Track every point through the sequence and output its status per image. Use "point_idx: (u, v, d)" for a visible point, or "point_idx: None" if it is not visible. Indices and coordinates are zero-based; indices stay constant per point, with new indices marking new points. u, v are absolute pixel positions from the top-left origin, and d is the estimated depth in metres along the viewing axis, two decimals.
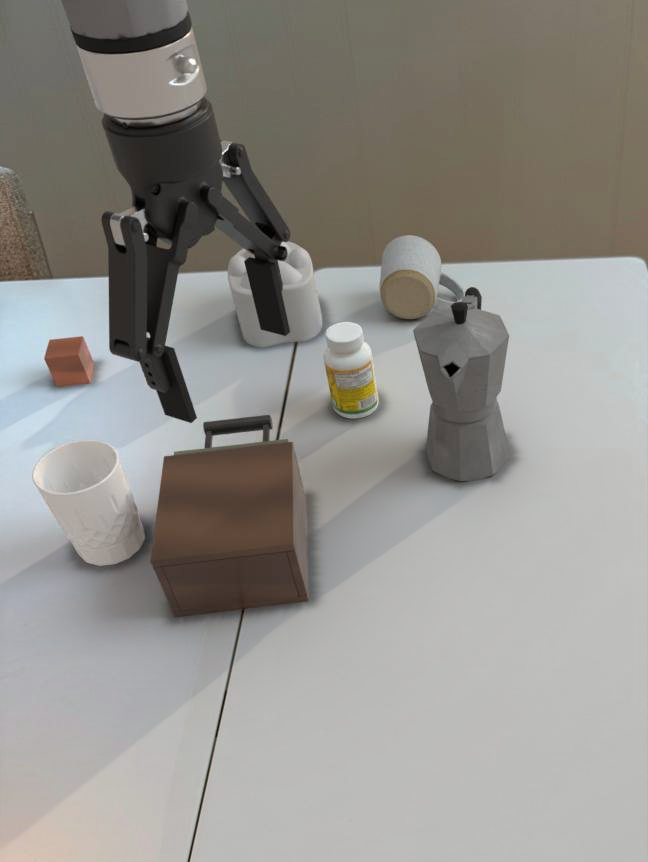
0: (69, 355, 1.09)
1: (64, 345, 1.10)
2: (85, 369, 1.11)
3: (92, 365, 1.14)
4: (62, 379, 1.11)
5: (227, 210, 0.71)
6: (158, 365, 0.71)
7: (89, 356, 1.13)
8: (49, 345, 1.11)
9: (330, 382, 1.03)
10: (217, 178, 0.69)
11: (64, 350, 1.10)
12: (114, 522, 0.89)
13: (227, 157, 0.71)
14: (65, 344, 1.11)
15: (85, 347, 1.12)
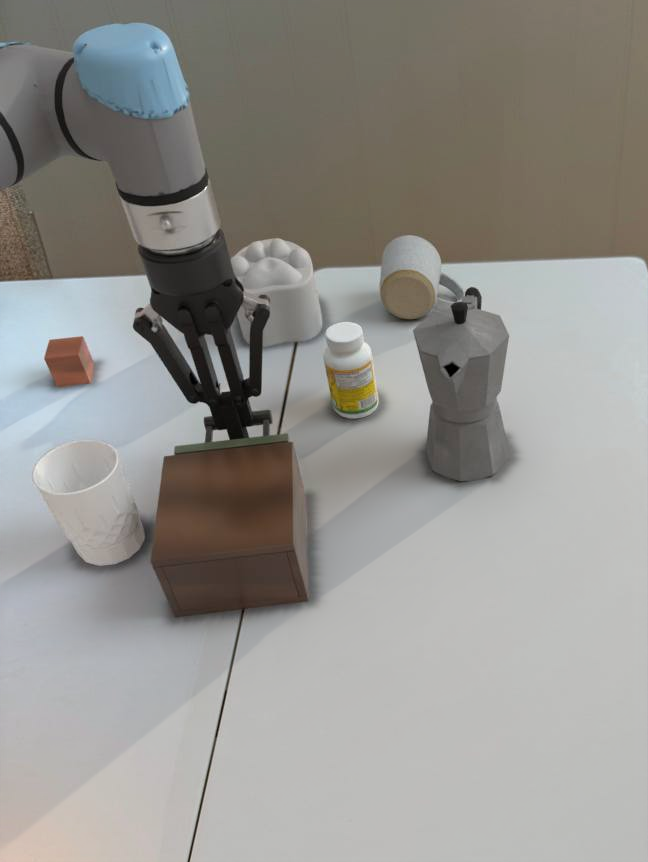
0: (69, 355, 1.09)
1: (64, 345, 1.10)
2: (85, 369, 1.11)
3: (92, 365, 1.14)
4: (62, 379, 1.11)
5: (217, 332, 0.87)
6: (215, 411, 0.94)
7: (89, 356, 1.13)
8: (49, 345, 1.11)
9: (330, 382, 1.03)
10: (231, 301, 0.85)
11: (64, 350, 1.10)
12: (114, 522, 0.89)
13: (255, 306, 0.87)
14: (65, 344, 1.11)
15: (85, 347, 1.12)
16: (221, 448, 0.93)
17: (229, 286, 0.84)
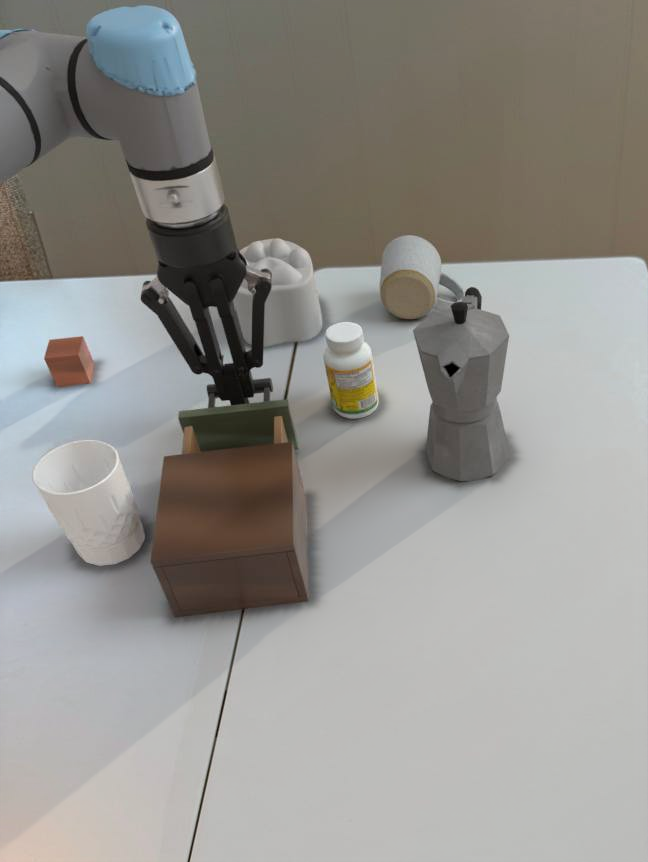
0: (69, 355, 1.09)
1: (64, 345, 1.10)
2: (85, 369, 1.11)
3: (92, 365, 1.14)
4: (62, 379, 1.11)
5: (221, 304, 0.91)
6: (218, 382, 0.98)
7: (89, 356, 1.13)
8: (49, 345, 1.11)
9: (330, 382, 1.03)
10: (234, 274, 0.89)
11: (64, 350, 1.10)
12: (114, 522, 0.89)
13: (257, 279, 0.91)
14: (65, 344, 1.11)
15: (85, 347, 1.12)
16: (224, 413, 0.97)
17: (233, 259, 0.88)
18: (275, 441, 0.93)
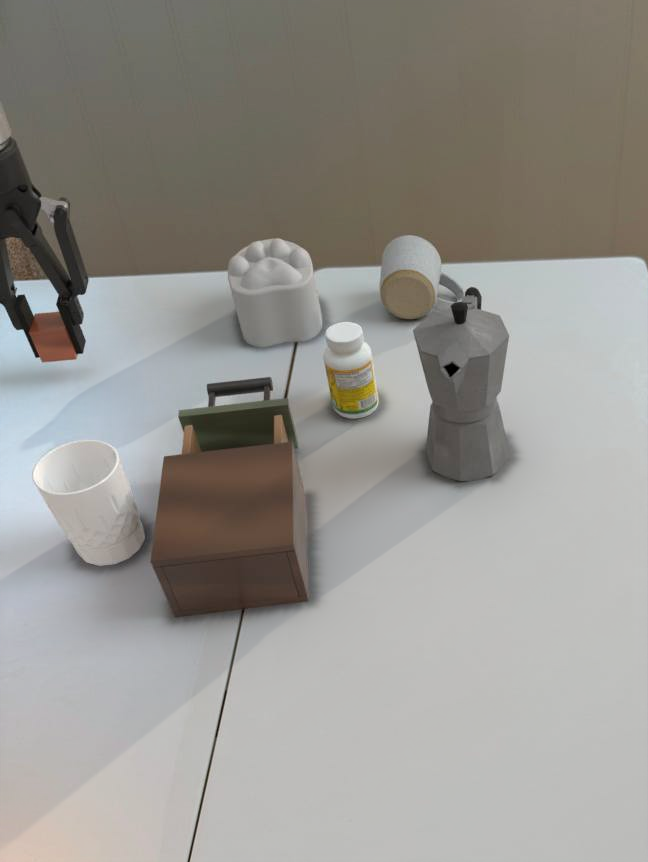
0: (55, 329, 1.07)
1: (50, 320, 1.08)
2: (71, 345, 1.08)
3: None
4: (47, 354, 1.09)
5: (23, 234, 0.98)
6: (11, 311, 1.05)
7: None
8: (34, 319, 1.08)
9: (330, 382, 1.03)
10: (28, 206, 0.97)
11: (50, 324, 1.07)
12: (114, 522, 0.89)
13: (53, 208, 0.98)
14: (51, 318, 1.08)
15: None
16: (224, 412, 0.97)
17: (22, 192, 0.96)
18: (275, 440, 0.94)
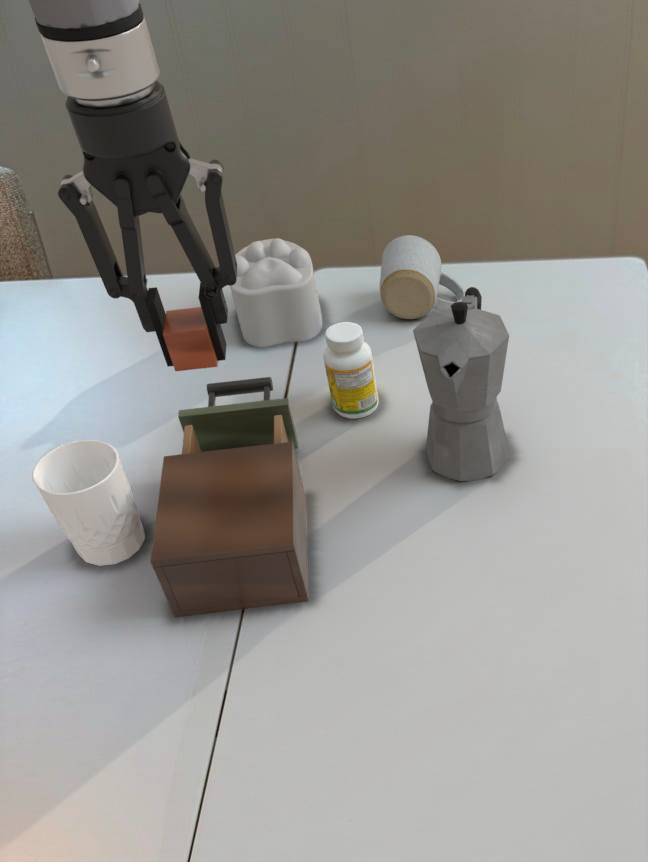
0: (195, 329, 0.85)
1: (186, 318, 0.86)
2: (212, 348, 0.87)
3: None
4: (183, 361, 0.87)
5: (166, 208, 0.77)
6: (141, 309, 0.84)
7: None
8: (167, 317, 0.86)
9: (330, 382, 1.03)
10: (175, 171, 0.75)
11: (187, 323, 0.86)
12: (114, 522, 0.89)
13: (205, 173, 0.76)
14: (187, 316, 0.87)
15: None
16: (224, 412, 0.97)
17: (169, 152, 0.74)
18: (275, 440, 0.94)
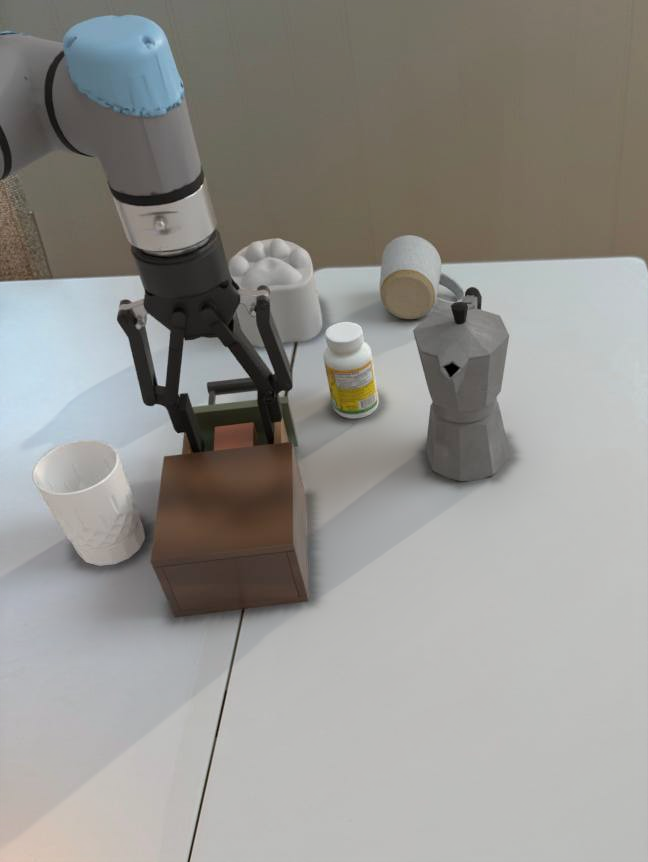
0: (242, 446, 0.94)
1: (234, 434, 0.95)
2: None
3: None
4: None
5: (221, 333, 0.84)
6: (173, 414, 0.91)
7: (258, 444, 0.98)
8: (216, 434, 0.95)
9: (330, 382, 1.03)
10: (227, 303, 0.83)
11: (235, 440, 0.95)
12: (114, 522, 0.89)
13: (254, 300, 0.84)
14: (235, 432, 0.95)
15: (255, 435, 0.97)
16: (224, 410, 0.97)
17: (220, 288, 0.82)
18: (275, 438, 0.94)
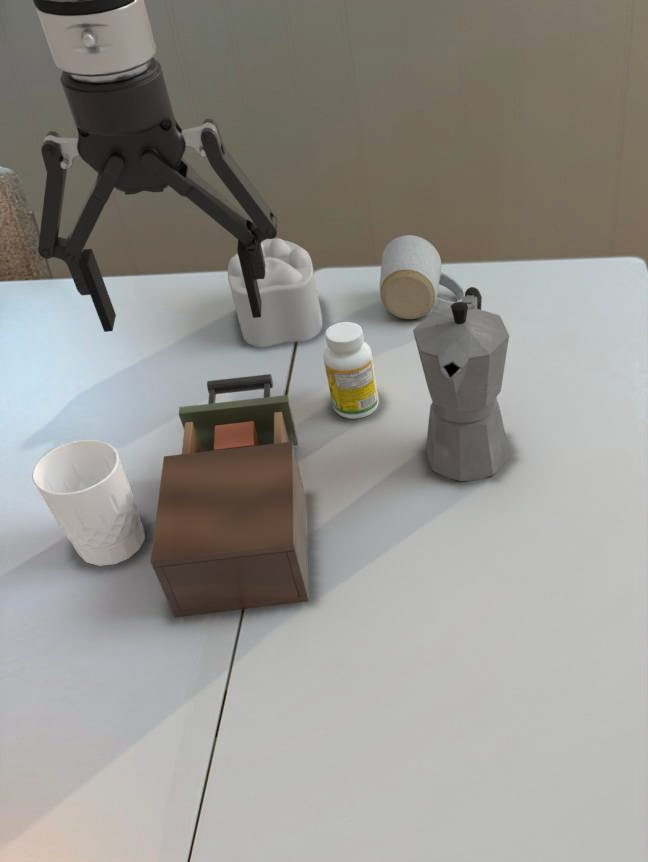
0: (242, 445, 0.94)
1: (234, 433, 0.95)
2: None
3: None
4: None
5: (172, 180, 0.76)
6: (75, 270, 0.81)
7: (258, 443, 0.98)
8: (216, 433, 0.95)
9: (330, 382, 1.03)
10: (170, 150, 0.75)
11: (235, 438, 0.95)
12: (114, 522, 0.89)
13: (199, 137, 0.75)
14: (235, 431, 0.96)
15: (255, 433, 0.97)
16: (224, 409, 0.97)
17: (158, 133, 0.74)
18: (275, 437, 0.94)
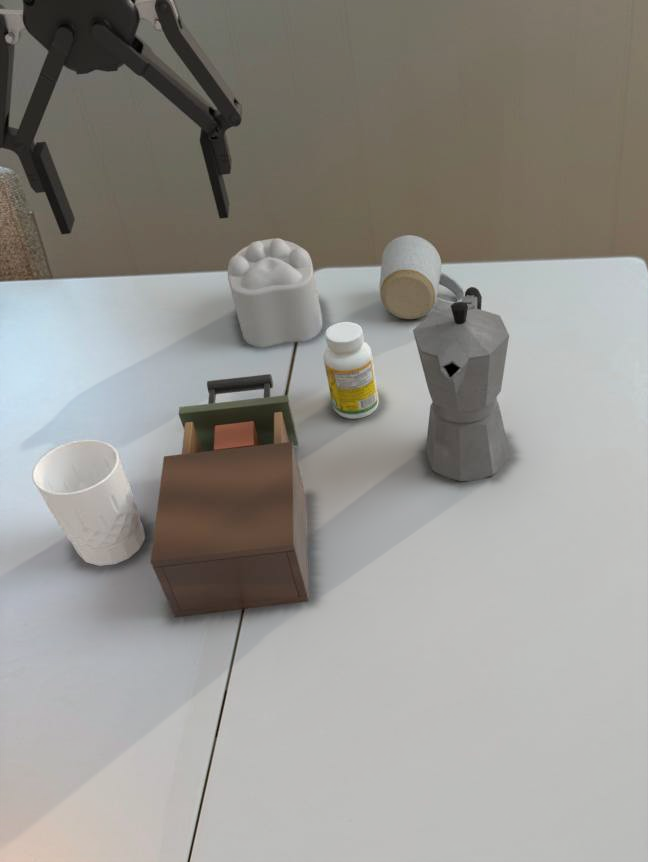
0: (242, 445, 0.94)
1: (234, 433, 0.95)
2: None
3: None
4: None
5: (126, 56, 0.71)
6: (27, 164, 0.76)
7: (258, 443, 0.98)
8: (216, 433, 0.95)
9: (330, 382, 1.03)
10: (123, 21, 0.69)
11: (235, 438, 0.95)
12: (114, 522, 0.89)
13: (153, 8, 0.70)
14: (235, 431, 0.96)
15: (255, 433, 0.97)
16: (224, 409, 0.97)
17: (109, 1, 0.68)
18: (275, 437, 0.94)
